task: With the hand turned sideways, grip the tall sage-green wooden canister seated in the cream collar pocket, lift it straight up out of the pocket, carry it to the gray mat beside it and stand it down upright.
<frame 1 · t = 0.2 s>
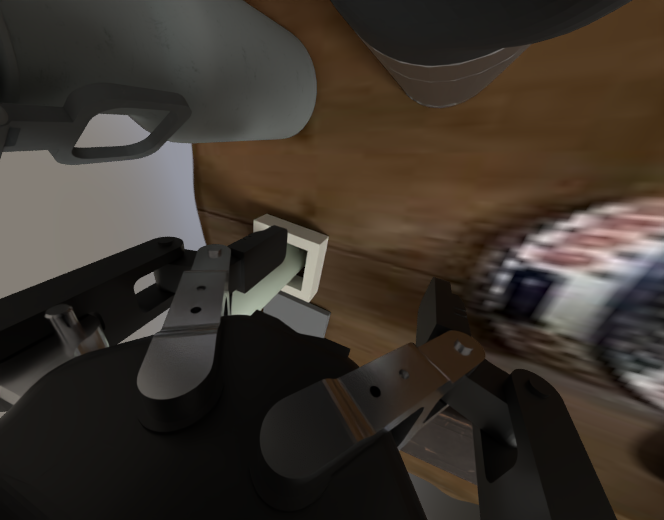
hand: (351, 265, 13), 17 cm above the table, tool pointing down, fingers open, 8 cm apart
sage canister: (261, 281, 30), in the cream pocket
hardcover book: (437, 426, 43), on the table
water bottle: (281, 91, 27), on the table
cream pocket: (293, 254, 36), on the table
gray mat: (294, 322, 43), on the table
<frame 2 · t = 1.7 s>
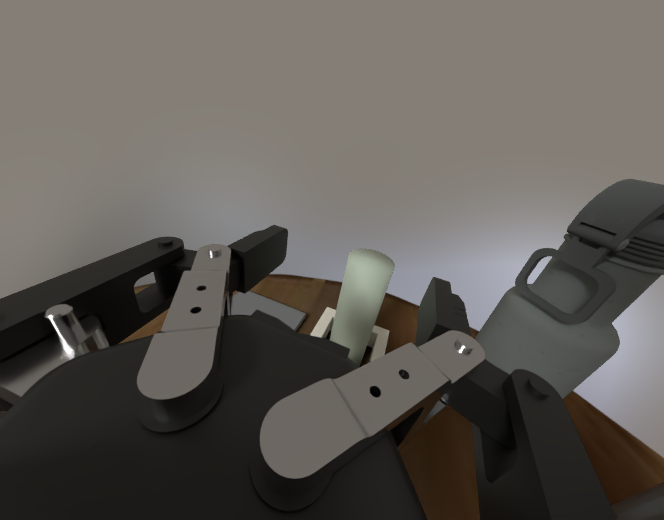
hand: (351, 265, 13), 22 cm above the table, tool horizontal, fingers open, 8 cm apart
sage canister: (355, 314, 30), in the cream pocket
water bottle: (489, 393, 33), on the table
cream pocket: (343, 356, 34), on the table
gray mat: (250, 329, 35), on the table
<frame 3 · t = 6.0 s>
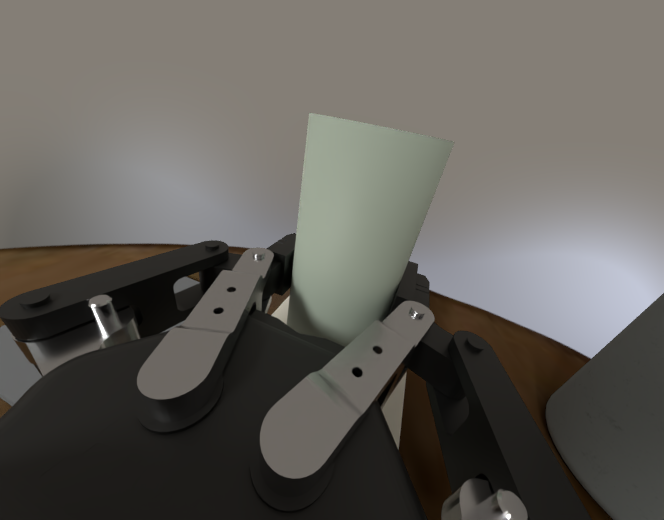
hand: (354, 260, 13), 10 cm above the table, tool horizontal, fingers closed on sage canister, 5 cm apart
sage canister: (338, 302, 12), in the cream pocket, touching gripper
water bottle: (625, 475, 15), on the table
cream pocket: (317, 392, 16), on the table
gray mat: (135, 333, 18), on the table
when the fingers open (11 cm above the table, at t = 12.9 s): sage canister stays where it is, resting on gray mat.
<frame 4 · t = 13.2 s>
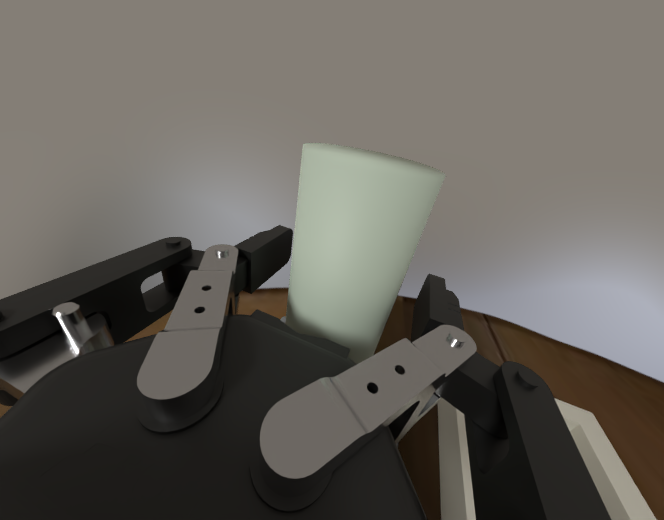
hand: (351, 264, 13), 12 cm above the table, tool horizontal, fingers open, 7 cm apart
sage canister: (334, 319, 13), on the gray mat, point 9 cm above the table
cream pocket: (515, 475, 16), on the table
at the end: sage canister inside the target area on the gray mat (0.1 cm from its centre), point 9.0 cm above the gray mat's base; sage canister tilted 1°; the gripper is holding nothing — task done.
